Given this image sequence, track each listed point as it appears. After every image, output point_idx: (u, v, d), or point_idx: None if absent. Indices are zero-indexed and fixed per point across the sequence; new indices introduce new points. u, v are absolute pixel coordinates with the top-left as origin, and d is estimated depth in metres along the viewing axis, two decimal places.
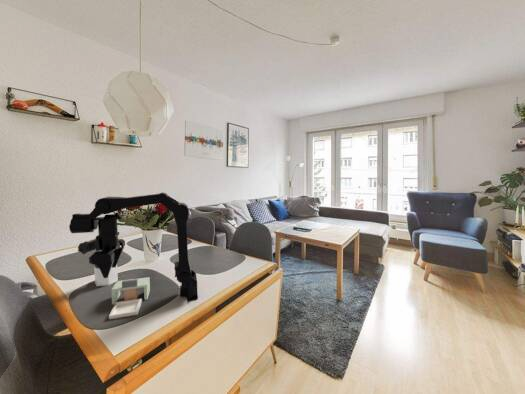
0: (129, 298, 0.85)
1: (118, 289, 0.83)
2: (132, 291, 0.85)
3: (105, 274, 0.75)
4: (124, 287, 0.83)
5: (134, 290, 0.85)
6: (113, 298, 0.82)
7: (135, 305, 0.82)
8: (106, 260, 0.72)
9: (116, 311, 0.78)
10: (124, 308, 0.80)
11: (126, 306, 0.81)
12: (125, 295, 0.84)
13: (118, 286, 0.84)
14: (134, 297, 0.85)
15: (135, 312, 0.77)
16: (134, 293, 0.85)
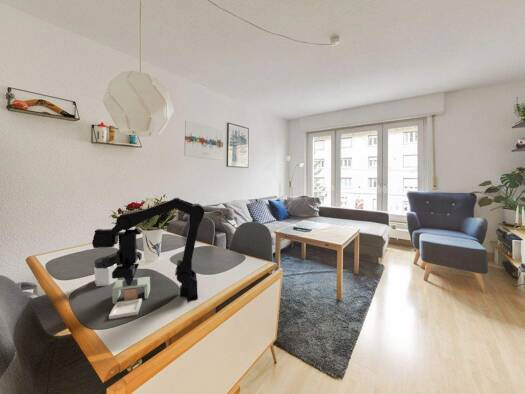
0: (129, 298, 0.85)
1: (119, 288, 0.83)
2: (132, 291, 0.85)
3: (128, 282, 0.83)
4: (124, 286, 0.84)
5: (134, 290, 0.85)
6: (114, 297, 0.83)
7: (135, 305, 0.82)
8: (128, 275, 0.75)
9: (116, 311, 0.78)
10: (124, 308, 0.80)
11: (126, 306, 0.81)
12: (125, 295, 0.84)
13: (119, 285, 0.85)
14: (134, 297, 0.85)
15: (135, 312, 0.77)
16: (134, 293, 0.85)
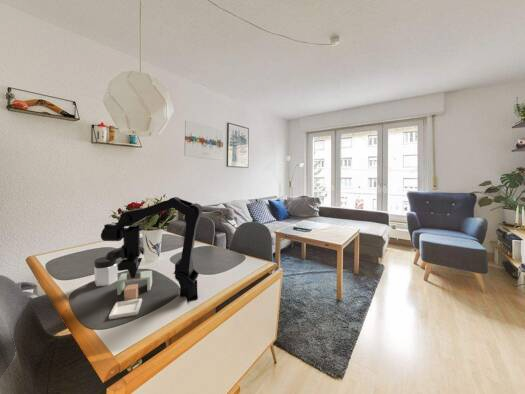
0: (129, 298, 0.85)
1: (123, 281, 0.89)
2: (132, 291, 0.85)
3: (132, 275, 0.88)
4: (128, 279, 0.90)
5: (134, 290, 0.85)
6: (118, 289, 0.89)
7: (135, 305, 0.82)
8: (132, 267, 0.81)
9: (116, 311, 0.78)
10: (124, 308, 0.80)
11: (126, 306, 0.81)
12: (125, 295, 0.84)
13: (123, 278, 0.91)
14: (134, 297, 0.85)
15: (135, 312, 0.77)
16: (134, 293, 0.85)
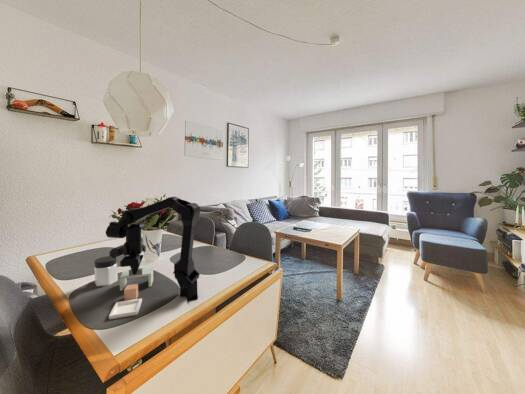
0: (129, 298, 0.85)
1: (125, 277, 0.93)
2: (132, 291, 0.85)
3: (134, 271, 0.92)
4: (130, 275, 0.93)
5: (134, 290, 0.85)
6: (121, 285, 0.92)
7: (135, 305, 0.82)
8: (134, 264, 0.84)
9: (116, 311, 0.78)
10: (124, 308, 0.80)
11: (126, 306, 0.81)
12: (125, 295, 0.84)
13: (125, 274, 0.94)
14: (134, 297, 0.85)
15: (135, 312, 0.77)
16: (134, 293, 0.85)
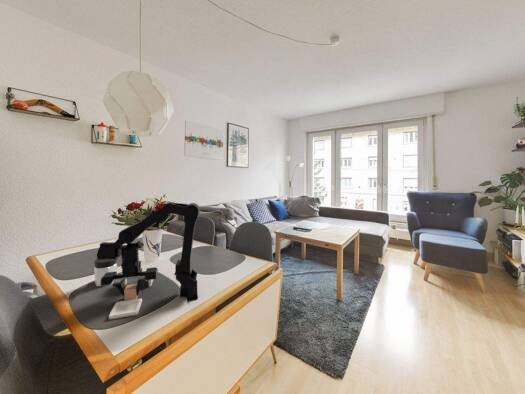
0: (129, 298, 0.85)
1: None
2: (132, 291, 0.85)
3: None
4: None
5: (134, 290, 0.85)
6: None
7: (135, 305, 0.82)
8: None
9: (116, 311, 0.78)
10: (124, 308, 0.80)
11: (126, 306, 0.81)
12: (125, 295, 0.84)
13: None
14: (134, 297, 0.85)
15: (135, 312, 0.77)
16: (134, 293, 0.85)
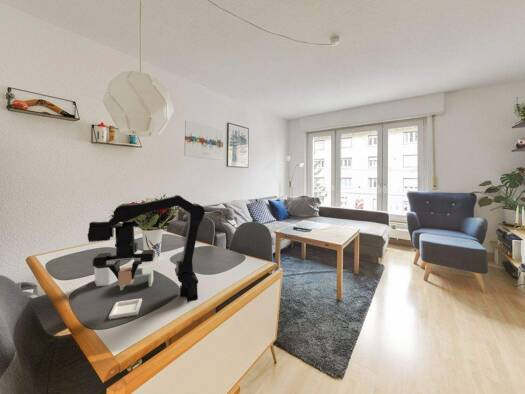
0: (124, 281, 0.78)
1: None
2: (127, 274, 0.78)
3: None
4: None
5: (129, 273, 0.78)
6: (121, 285, 0.92)
7: (135, 305, 0.82)
8: None
9: (116, 311, 0.78)
10: (124, 308, 0.80)
11: (126, 306, 0.81)
12: (119, 278, 0.77)
13: None
14: (129, 280, 0.79)
15: (135, 312, 0.77)
16: (129, 276, 0.78)
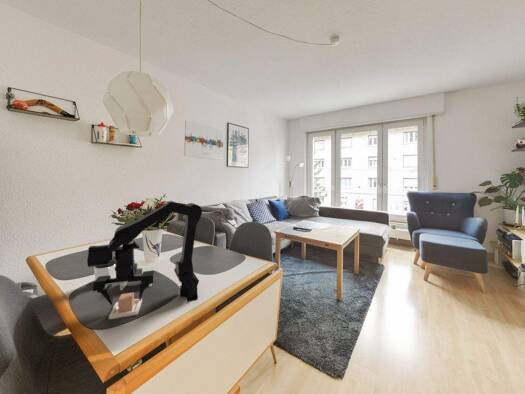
0: (124, 309, 0.77)
1: None
2: (127, 301, 0.77)
3: None
4: None
5: (129, 300, 0.78)
6: (121, 285, 0.92)
7: (135, 305, 0.82)
8: None
9: (116, 311, 0.78)
10: None
11: None
12: (119, 305, 0.77)
13: None
14: (129, 307, 0.78)
15: (135, 312, 0.77)
16: (129, 303, 0.78)
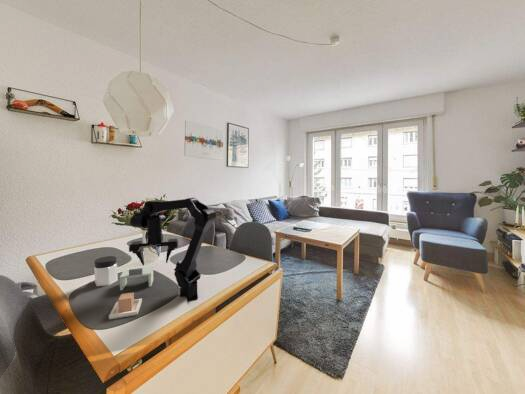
0: (124, 309, 0.77)
1: (125, 277, 0.93)
2: (127, 301, 0.77)
3: None
4: (131, 275, 0.93)
5: (129, 300, 0.78)
6: (121, 285, 0.92)
7: (135, 305, 0.82)
8: None
9: (116, 311, 0.78)
10: None
11: None
12: (119, 305, 0.77)
13: (125, 274, 0.94)
14: (129, 307, 0.78)
15: (135, 312, 0.77)
16: (129, 303, 0.78)
